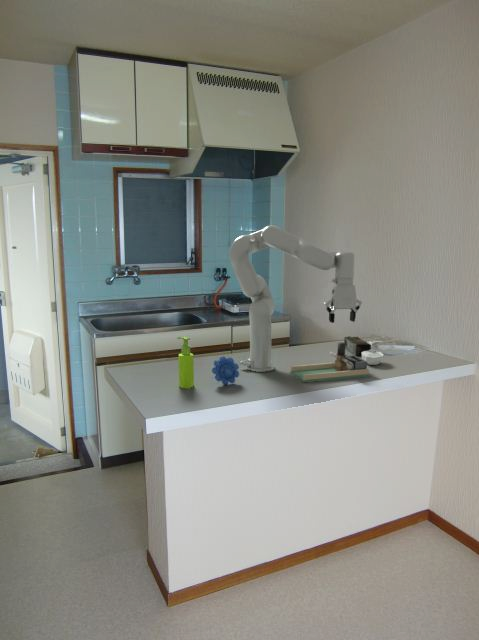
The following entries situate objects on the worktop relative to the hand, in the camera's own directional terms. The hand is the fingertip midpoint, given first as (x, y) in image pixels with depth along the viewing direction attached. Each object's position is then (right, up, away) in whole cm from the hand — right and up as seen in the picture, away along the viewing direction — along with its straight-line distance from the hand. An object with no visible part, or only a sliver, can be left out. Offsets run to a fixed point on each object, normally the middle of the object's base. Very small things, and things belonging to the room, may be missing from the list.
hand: (342, 321), depth 217 cm
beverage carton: (+16, -16, +42) cm, 48 cm away
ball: (+4, -19, +5) cm, 20 cm away
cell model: (+18, -20, +20) cm, 33 cm away
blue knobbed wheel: (-49, -26, -11) cm, 56 cm away
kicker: (0, -21, +4) cm, 22 cm away
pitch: (-5, -23, +3) cm, 24 cm away
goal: (+6, -21, +6) cm, 23 cm away
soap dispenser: (-65, -26, -12) cm, 71 cm away
